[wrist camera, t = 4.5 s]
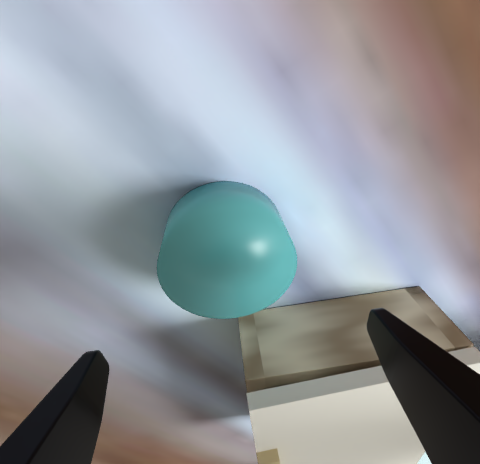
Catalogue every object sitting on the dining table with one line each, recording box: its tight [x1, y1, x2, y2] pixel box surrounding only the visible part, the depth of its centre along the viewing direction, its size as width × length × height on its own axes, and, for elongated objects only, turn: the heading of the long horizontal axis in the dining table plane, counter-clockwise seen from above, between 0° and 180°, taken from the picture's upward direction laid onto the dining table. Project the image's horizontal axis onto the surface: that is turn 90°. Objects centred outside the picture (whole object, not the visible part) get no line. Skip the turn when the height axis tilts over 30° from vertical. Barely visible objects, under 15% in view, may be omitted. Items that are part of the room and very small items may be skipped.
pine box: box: [238, 286, 474, 393], centre depth 19 cm, size 12×14×4 cm
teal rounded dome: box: [157, 181, 297, 319], centre depth 13 cm, size 6×6×3 cm
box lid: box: [246, 347, 480, 464], centre depth 17 cm, size 12×14×1 cm
